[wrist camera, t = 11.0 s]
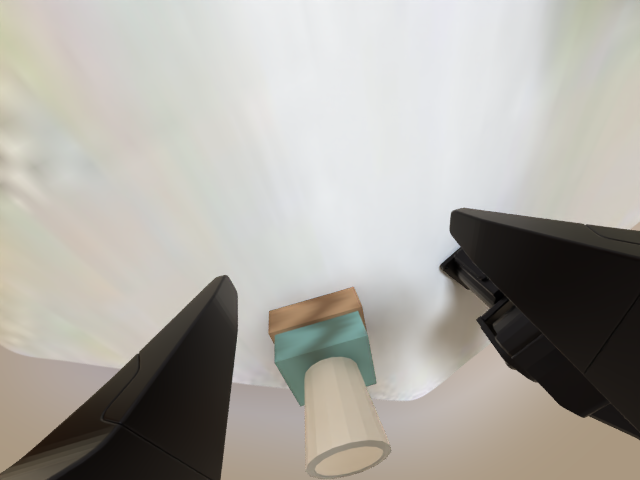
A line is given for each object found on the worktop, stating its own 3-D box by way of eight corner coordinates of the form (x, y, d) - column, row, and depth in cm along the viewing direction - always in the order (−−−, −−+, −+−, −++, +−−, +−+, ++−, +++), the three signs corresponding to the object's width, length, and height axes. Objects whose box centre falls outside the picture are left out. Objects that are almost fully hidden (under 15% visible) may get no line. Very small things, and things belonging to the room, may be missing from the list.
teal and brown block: (353, 286, 27) (372, 330, 21) (364, 339, 32) (381, 384, 27) (269, 311, 26) (267, 361, 21) (293, 360, 32) (297, 409, 26)
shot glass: (311, 349, 21) (324, 444, 15) (374, 355, 24) (408, 440, 18) (289, 391, 24) (294, 484, 18) (347, 393, 26) (368, 477, 20)
